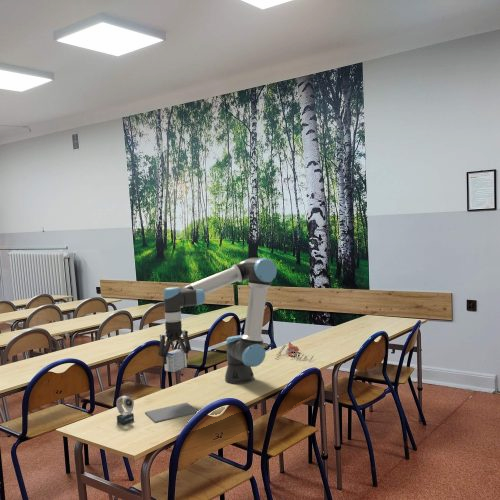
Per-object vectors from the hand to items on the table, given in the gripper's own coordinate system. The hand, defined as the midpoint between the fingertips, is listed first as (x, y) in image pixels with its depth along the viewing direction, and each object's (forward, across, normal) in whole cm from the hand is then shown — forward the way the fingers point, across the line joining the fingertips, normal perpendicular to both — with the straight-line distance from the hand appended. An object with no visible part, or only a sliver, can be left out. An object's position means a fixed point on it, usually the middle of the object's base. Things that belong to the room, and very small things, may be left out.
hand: (175, 368), depth 246 cm
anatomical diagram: (+16, -91, -16) cm, 93 cm away
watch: (+16, +29, +6) cm, 34 cm away
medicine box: (+1, 0, 0) cm, 1 cm away
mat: (+16, +10, +11) cm, 22 cm away
